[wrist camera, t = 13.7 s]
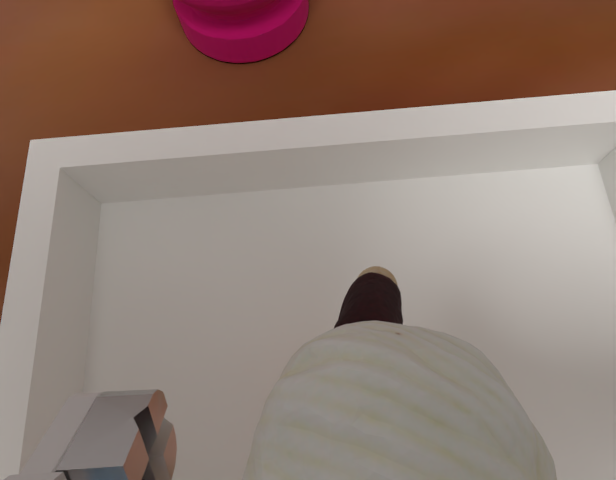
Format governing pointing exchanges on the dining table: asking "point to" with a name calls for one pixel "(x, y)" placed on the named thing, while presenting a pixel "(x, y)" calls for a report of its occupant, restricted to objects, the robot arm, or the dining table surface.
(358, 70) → the dining table surface
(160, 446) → the robot arm
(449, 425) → the grandmother figurine
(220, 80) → the dining table surface
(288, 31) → the pepper mill
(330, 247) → the tray
